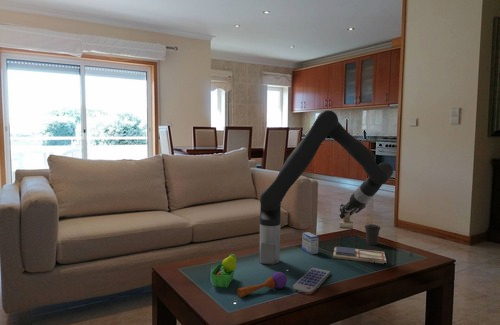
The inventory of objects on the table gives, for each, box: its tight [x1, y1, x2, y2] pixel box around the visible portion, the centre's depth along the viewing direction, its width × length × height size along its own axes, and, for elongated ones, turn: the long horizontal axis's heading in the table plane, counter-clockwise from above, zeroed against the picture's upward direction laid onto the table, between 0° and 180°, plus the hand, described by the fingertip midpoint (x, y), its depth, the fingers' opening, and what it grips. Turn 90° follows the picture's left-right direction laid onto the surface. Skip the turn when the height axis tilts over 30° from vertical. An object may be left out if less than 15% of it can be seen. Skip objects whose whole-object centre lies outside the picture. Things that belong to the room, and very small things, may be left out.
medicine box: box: [301, 231, 319, 255], centre depth 175 cm, size 8×4×9 cm, turn 25°
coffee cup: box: [364, 223, 381, 246], centre depth 188 cm, size 8×8×10 cm
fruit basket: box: [210, 253, 238, 288], centre depth 137 cm, size 11×9×11 cm
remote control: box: [292, 267, 331, 293], centre depth 139 cm, size 8×23×2 cm, turn 150°
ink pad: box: [335, 246, 356, 256], centre depth 171 cm, size 9×9×1 cm
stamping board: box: [332, 246, 387, 264], centre depth 170 cm, size 14×24×1 cm, turn 73°
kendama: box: [236, 271, 288, 299], centre depth 131 cm, size 6×6×20 cm
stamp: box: [339, 210, 354, 230], centre depth 170 cm, size 6×6×8 cm
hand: (343, 216), depth 172 cm, fingers closed on stamp, 3 cm apart
